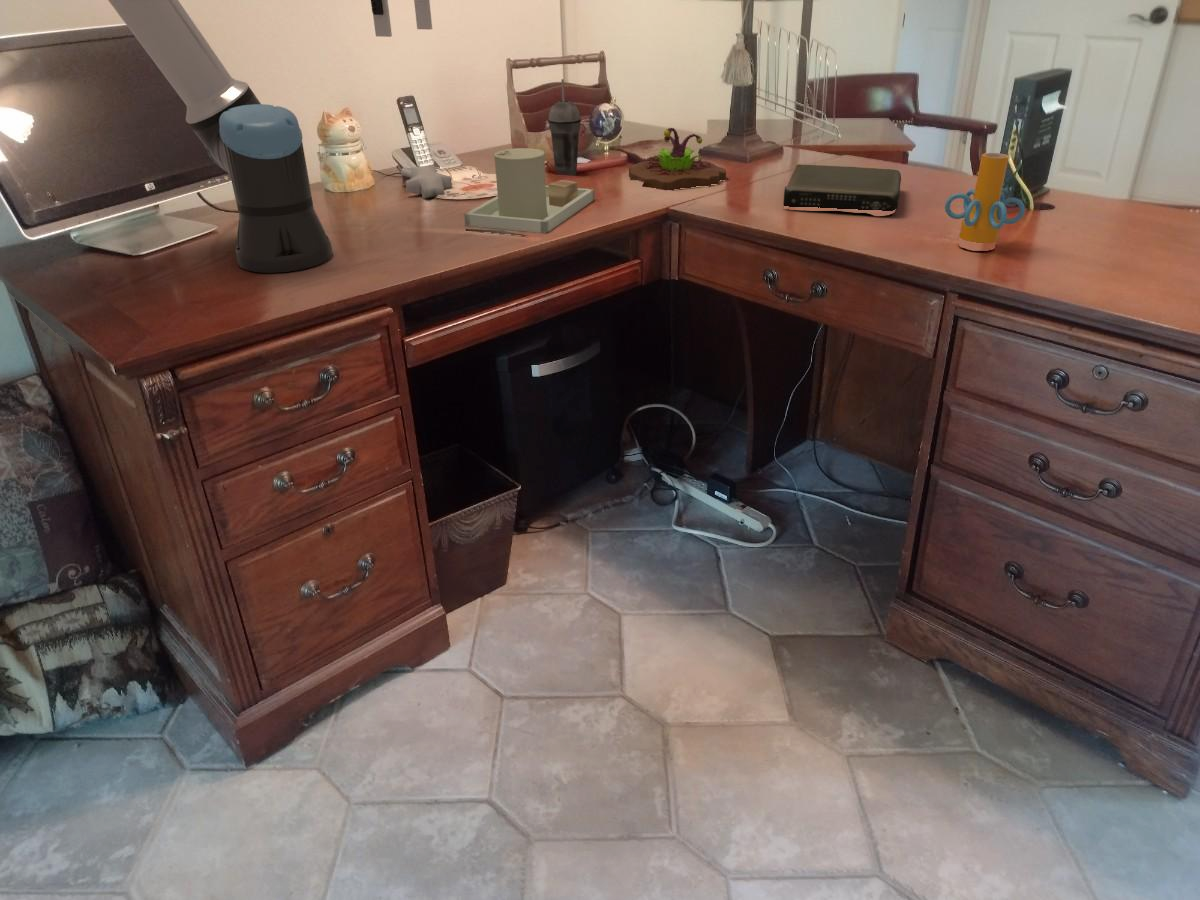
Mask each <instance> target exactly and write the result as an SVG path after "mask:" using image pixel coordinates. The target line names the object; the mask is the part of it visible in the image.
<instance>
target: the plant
mask: <svg viewBox="0 0 1200 900" xmlns="http://www.w3.org/2000/svg"><path fill="white" fill-rule="evenodd" d="M672 132H673V136H674V137H673V136H671V134H672ZM663 135H664V137H663V140H664V142H665V143H669V142H671V143H672V146H673V147H672V149H671V151H670V150H668V149H666V148H664V147H663V148H661V150H658V152H659V154H660V155H661V156H662V157H661V156H660V155H658V154H656V153H653V156H654V157H655V158H654V157H652V156H650V157H649V158H648V160H644V161H641V162H637V163H635V164H633V165H630V166H629V167H628V177H629V179H630V181H639V182H641V183H642V185H641V187H642V188H650V189H654V188H656V189H655V190H662V191H667V190H672V191H675V190H674V189H679V190H681V189H680V188H690V189H692V188H691V187H696V186H709V185H711V184H718V183H719V184H720V182H721V181H720V180H726V181H727V169H725V168H723V167H721V166H718V165H716V164H714V163H713V162H709V161H707V160H702V159H701V158H700V159H698V160H696V158H698V157H699V156H700V153H697V154H694V155H693V156H692V155H691V154H692V153H693V150H694V149H692V148H690V147H689V148H686V146H687V143H688V142H689V140H690V139H691V138H693V137H695V140H696V143H697V144H699V145H701V144H702V142H703V138H702V137H701V136H700V135H698V134H695V133H692V134H689V135H688V136H686V137H685V138H684V139H683V141H682V142H681V143H680V136H679V134H678V131H676V129H675V128H674V127H668V128H666V129H665V130H664V131H663ZM691 156H692V157H691ZM719 181H720V182H719ZM719 184H718V185H719ZM709 187H710V186H709Z"/></svg>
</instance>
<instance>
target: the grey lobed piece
mask: <svg viewBox="0 0 1200 900" xmlns="http://www.w3.org/2000/svg"><path fill="white" fill-rule="evenodd" d="M399 175H400V176H403V177H406V178H409V179H407V180H406V181H405V189H406V192H407V193H408V194H409V193H411V194H418V195H419V194H420V195H421V196H422V199H431V198H432V199H433V198H436V197H438V196H439V195H445V191H446V190H447V189H451V188H453V184H452V183H453V181H452V177H451V176H450V175H446V174H442V173H438V170H437V168H436V166H435V165H434V164H429V165H421V166H413V167H402V168H401V170H400V173H399Z"/></svg>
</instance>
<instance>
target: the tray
mask: <svg viewBox="0 0 1200 900" xmlns="http://www.w3.org/2000/svg"><path fill="white" fill-rule="evenodd" d="M593 201H595V189H594V188H582V187H581V188H580V187H578V197H577V198H575V199H574V200H572V201H571V202H569V203H568V204H566V205H564V206H563V207H558V206H553V205H549V186H548V185H546V204H547V213H548V217H546V218H545V219H543V220H539V219H528V218H517V217H507V216H499V208H498V195H496V196H495V197H493V198H491V199H489V200H488V201H486V202H484V203H482V204H480V205H478V206H476V207H474V208H473V209H471V210H468V211H467V212H465V213H464V214H463V217H464V226H466V227H467V226H468V227H477V228H479V229H473V228H465V231H466V232H474V231H477V233H484V232H491V233H490V234H494V233H499V234H498V235H504V234H511V235H510V236H514V235H521V236H520V237H524V236H528V235H526V234H522V233H521V234H520V233H517V232H518V231H519V232H526V233H527V232H528V233H529V232H530V233H538V234H547V233H550V232H551V231H553V229H555V228H556V227H557V226H559V225H561V224H562V223H563V222H565V221H566V220H568V219H569V218H571V217H572V216H573V215H575V214H576V213H577V212H579V211H580V210H582V209H584V207H586V206H588V205H589V204H591V203H592V202H593ZM480 228H488V229H480ZM507 230H509V231H507ZM478 231H479V232H478ZM513 231H517V232H513Z"/></svg>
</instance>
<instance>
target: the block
mask: <svg viewBox="0 0 1200 900" xmlns="http://www.w3.org/2000/svg"><path fill="white" fill-rule="evenodd" d="M578 184H579V183H578V182H577V181H572V180H564V179H560V180H557V181H553V182H551V183H548V184H547V186H549V205H553V206H558V207H563V206H564V205H566V204H568V203H569V202H571V201H572V200H574V199H575V198H577V197H578V188H579V187H578Z"/></svg>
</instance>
